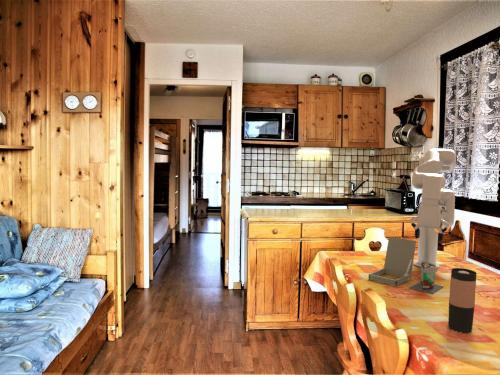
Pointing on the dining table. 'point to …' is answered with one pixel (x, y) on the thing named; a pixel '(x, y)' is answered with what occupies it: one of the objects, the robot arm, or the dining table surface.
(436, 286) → the mat
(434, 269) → the food container
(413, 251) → the case
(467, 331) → the travel mug
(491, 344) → the dining table surface
